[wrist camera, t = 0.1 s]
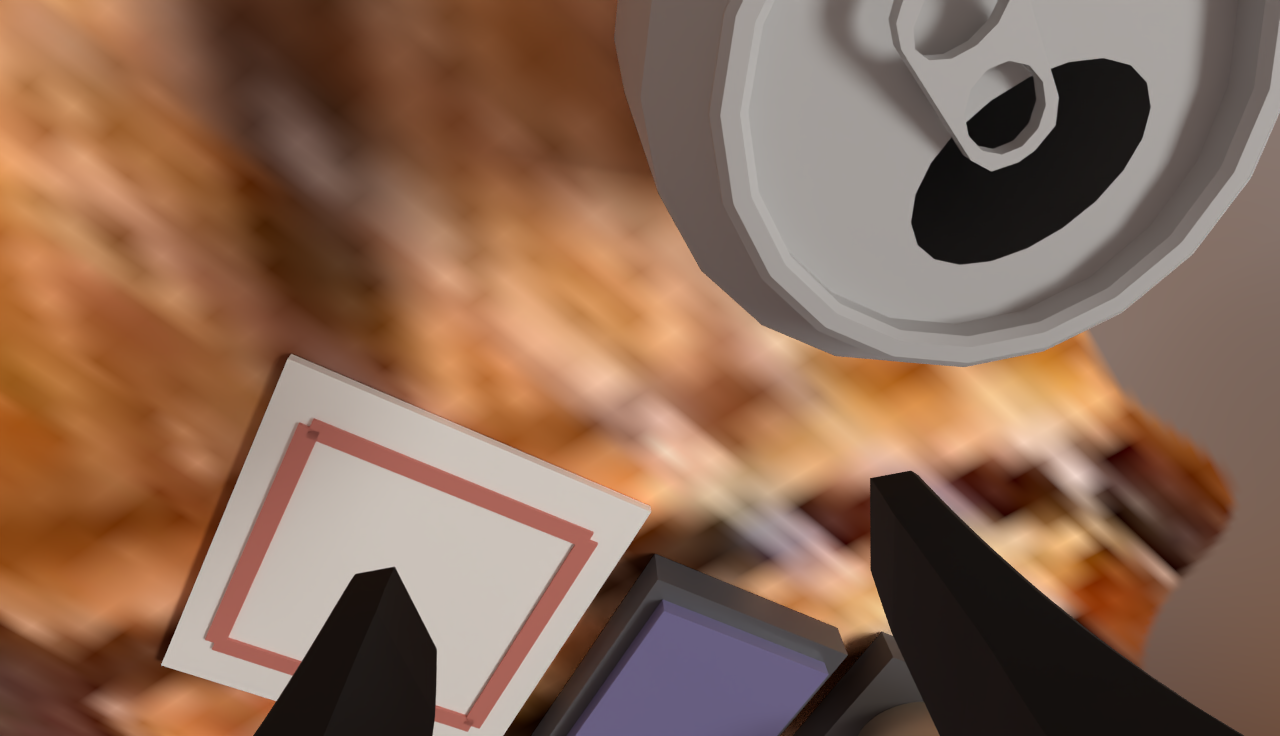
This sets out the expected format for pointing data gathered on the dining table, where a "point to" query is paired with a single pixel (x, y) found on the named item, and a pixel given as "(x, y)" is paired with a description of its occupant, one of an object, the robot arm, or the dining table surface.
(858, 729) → the stamp
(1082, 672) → the robot arm
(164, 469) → the dining table surface
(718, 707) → the ink pad
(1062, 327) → the can
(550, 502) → the paper
